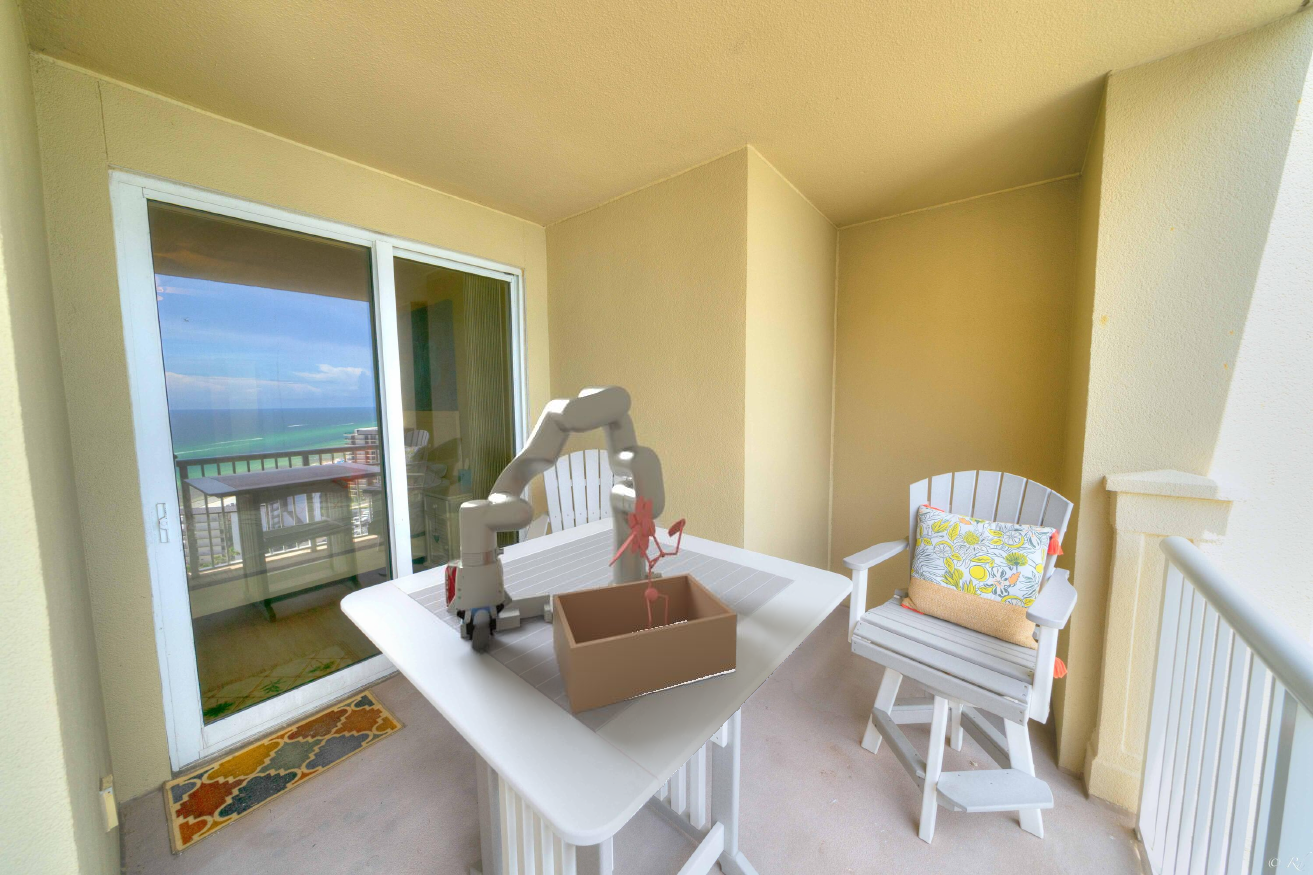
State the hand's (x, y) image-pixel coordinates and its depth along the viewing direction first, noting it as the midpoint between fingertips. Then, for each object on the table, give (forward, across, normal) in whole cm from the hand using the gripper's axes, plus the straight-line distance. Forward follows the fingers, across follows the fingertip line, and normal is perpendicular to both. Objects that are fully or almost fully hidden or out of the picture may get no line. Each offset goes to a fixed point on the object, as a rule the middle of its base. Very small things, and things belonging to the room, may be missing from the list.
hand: (481, 634), depth 98 cm
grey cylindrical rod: (+1, 0, 0) cm, 1 cm away
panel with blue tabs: (+2, -6, -6) cm, 8 cm away
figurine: (+2, -31, +20) cm, 37 cm away
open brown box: (+2, -31, +20) cm, 37 cm away
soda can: (+2, +5, -20) cm, 21 cm away
